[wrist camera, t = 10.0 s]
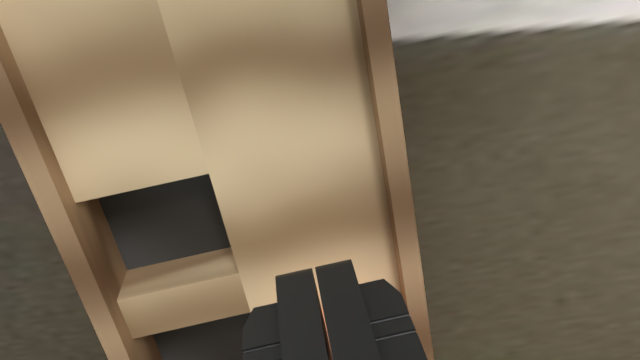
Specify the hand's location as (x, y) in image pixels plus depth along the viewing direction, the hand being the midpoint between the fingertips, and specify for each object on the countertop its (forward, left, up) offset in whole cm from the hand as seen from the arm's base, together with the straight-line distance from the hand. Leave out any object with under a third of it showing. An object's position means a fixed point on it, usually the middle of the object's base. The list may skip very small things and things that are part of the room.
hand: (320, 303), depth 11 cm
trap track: (+4, -3, -13) cm, 14 cm away
